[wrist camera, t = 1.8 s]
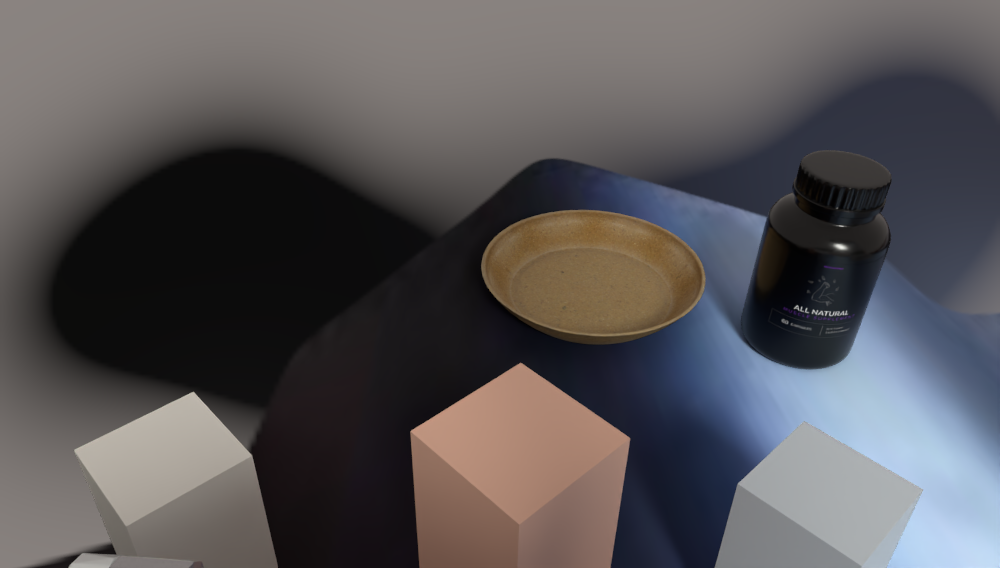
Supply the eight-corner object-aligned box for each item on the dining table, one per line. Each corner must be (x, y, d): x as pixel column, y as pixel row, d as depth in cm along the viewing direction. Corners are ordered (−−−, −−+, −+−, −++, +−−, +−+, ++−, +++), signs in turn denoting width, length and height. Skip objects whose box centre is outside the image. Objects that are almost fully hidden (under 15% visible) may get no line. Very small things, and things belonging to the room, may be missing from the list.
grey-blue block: (765, 542, 38) (804, 420, 34) (865, 612, 35) (923, 489, 31) (704, 606, 35) (737, 483, 31) (807, 688, 32) (861, 566, 28)
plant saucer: (659, 397, 47) (665, 363, 45) (440, 323, 52) (439, 290, 51) (724, 272, 57) (730, 241, 56) (537, 221, 63) (538, 192, 61)
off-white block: (227, 513, 39) (193, 391, 35) (280, 579, 36) (252, 455, 32) (124, 574, 36) (73, 450, 32) (174, 651, 33) (125, 526, 29)
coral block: (511, 583, 36) (520, 362, 29) (595, 660, 33) (630, 437, 26) (425, 654, 33) (410, 431, 26) (508, 747, 30) (519, 524, 23)
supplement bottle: (793, 387, 47) (847, 209, 40) (717, 323, 52) (753, 154, 45) (875, 353, 50) (939, 181, 43) (796, 295, 55) (841, 132, 48)
